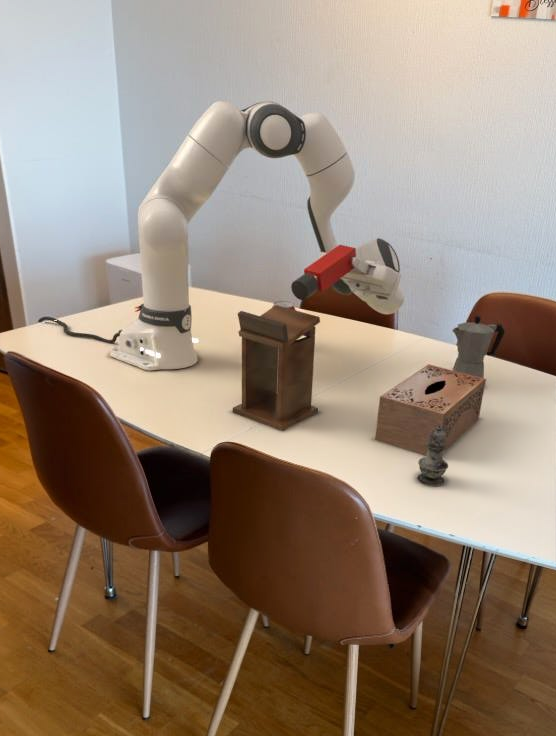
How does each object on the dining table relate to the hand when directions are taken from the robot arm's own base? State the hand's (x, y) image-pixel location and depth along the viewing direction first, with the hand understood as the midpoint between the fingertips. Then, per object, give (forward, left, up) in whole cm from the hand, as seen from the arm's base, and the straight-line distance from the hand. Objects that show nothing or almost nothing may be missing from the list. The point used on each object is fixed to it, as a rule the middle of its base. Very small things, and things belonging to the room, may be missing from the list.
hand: (341, 257), depth 162 cm
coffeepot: (+29, +24, -31) cm, 49 cm away
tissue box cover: (+29, -10, -31) cm, 44 cm away
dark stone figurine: (+37, -33, -31) cm, 59 cm away
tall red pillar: (-1, -6, -7) cm, 9 cm away
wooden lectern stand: (-4, -22, -31) cm, 38 cm away
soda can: (-25, +20, -31) cm, 45 cm away
